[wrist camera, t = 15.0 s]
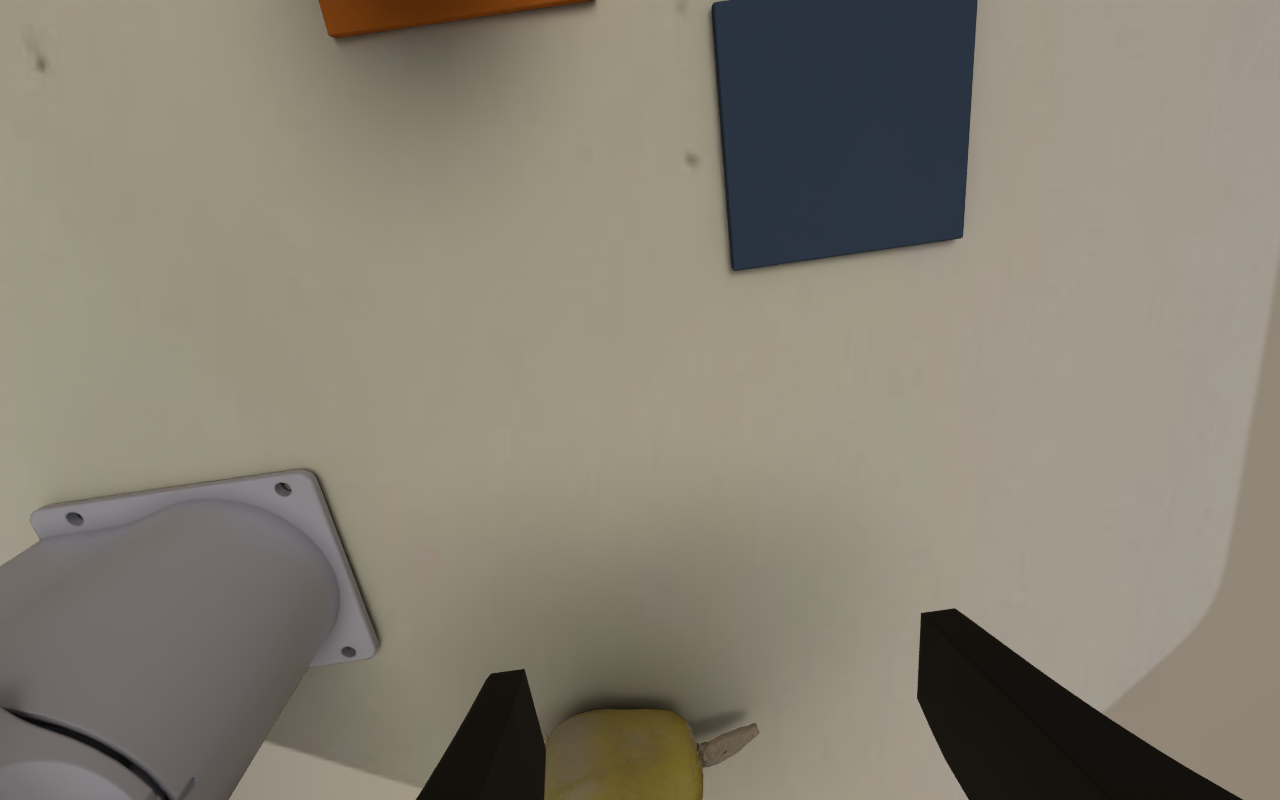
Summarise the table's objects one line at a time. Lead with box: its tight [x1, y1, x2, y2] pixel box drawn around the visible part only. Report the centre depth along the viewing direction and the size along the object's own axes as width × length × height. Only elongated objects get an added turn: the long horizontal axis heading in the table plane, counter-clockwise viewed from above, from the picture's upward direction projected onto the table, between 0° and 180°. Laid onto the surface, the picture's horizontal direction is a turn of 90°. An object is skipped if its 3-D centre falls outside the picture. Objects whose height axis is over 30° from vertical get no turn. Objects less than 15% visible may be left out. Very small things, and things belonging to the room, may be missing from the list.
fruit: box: [544, 709, 759, 800], centre depth 23 cm, size 6×6×10 cm
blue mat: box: [712, 0, 977, 271], centre depth 17 cm, size 7×7×1 cm
